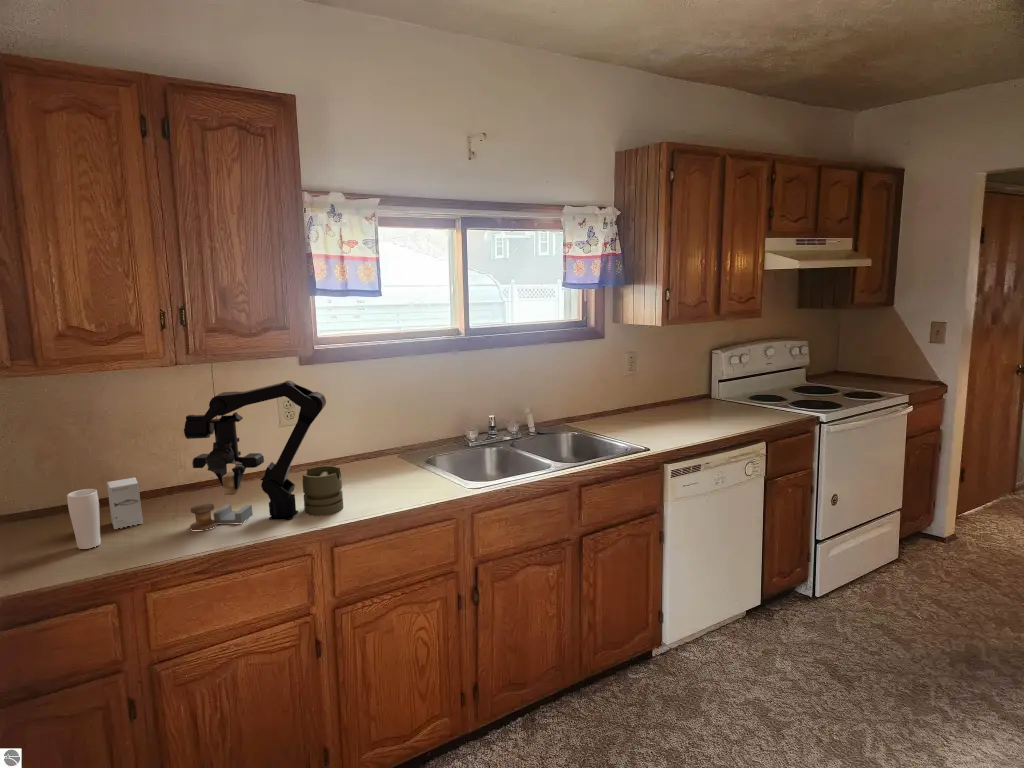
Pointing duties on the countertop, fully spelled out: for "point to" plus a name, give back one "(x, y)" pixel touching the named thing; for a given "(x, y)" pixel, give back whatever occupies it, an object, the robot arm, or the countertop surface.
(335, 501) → the grooved olive planter pot
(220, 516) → the grey u-shaped channel block
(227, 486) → the wooden block
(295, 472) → the countertop surface
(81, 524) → the drinking glass
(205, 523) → the spool
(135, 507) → the supplement box
